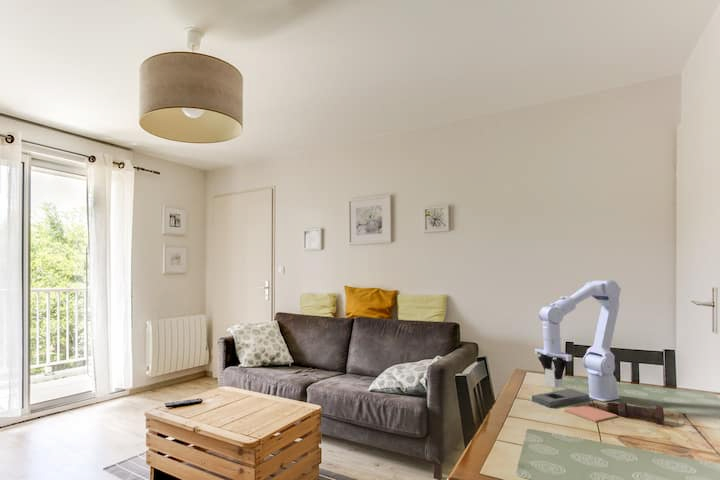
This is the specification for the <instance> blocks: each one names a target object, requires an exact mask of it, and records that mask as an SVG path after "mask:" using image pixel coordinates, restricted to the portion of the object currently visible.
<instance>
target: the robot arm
mask: <svg viewBox="0 0 720 480" xmlns="http://www.w3.org/2000/svg"><path fill="white" fill-rule="evenodd" d="M621 290H622V288H621V287H620V286H619V284H618V283H617V282H616V281H615V280H612V279H610V280H598V279H597V280H596V279H592V280H589V281H588V282H586V283H585V284H584V286H582V287H581V288H580V289H578V290H577V291H575V292H574V293H573V294H571V295H570V296H567V295H565V296H563V295H562V296H560V297H559V299H558V300H557V301H555V302H552V303H550V305H549V306H544V307H542V308H541V309H540V311H539V313H538V314H537V315H538V318H539V320H540V321H541V325H542V340H543V348H534V354H535V355H540V356H537V357H538V360H539V361H540V363H541V366H542V368H543V371H544V372H545V368H551V367H553V366H554V368H555V373H556V379H562V378H563V375H564V371H565V369H566V366H567V365H568V363H569V362H572V361H573V355H572V354H568V353H566V352H562V345H561V344H562V343H561V341H562V339H561V328H560V327H561V325H560V323H562V321H563V320H564V317H565V316H567V315H568V314H569V313H571V312H572V311H574V310H576V308H577V305H578V304H580V303H581V302H584V301H585V300H587V299H589V298H590V297H592V298H593V299H594V300H596V301H597V302H598V303H599V304H600V306H601V308H600V312H599V313H600V314H599V317H598V321H597V325H596V326H597V327H596V330H595V335H594V336H595V337H594V340H593V344H592V345H591V346H590V347H589V348H587V349H586V353H584V354H585V355H584V356H583V357H582V365H583V367H584V368H585V369H586V372H587V378H588V379H587V380H588V394H589V399H593V400H596V401H599V402H604V403H605V402H611V401H616V400H619V399H621V397H620V396H618V381H617V378H616V377H615V375H614V374H613V373H615V370H616V364H615V358H616V357H615V355H614V353H613V352H612V351H611V346H612V340H613V337H614V332H615V326H616V322H617V318H618V313H619V309H620V295H621Z"/></svg>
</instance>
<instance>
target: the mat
mask: <svg viewBox="0 0 720 480" xmlns="http://www.w3.org/2000/svg"><path fill="white" fill-rule="evenodd" d="M564 412H566V413H568V414H571V415H574V416H576V417H577V416H578V417H580V418H582V419H585V420H588V421H591V422H594V423H597V422H598V423H599V422H602V421H607V420H610V419H615V418H618V417H619V414H617V413H612V412H609V411H606V410H603V409H601V408H596V407H593V406H590V405H587V404H586V405H581V406H577V407H572V408H571V407H570V408H566V409H564Z"/></svg>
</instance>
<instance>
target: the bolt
mask: <svg viewBox="0 0 720 480" xmlns="http://www.w3.org/2000/svg"><path fill="white" fill-rule="evenodd" d="M606 410H607V412H609V413H613V414H617V415H618V416H620V417H623V418H627V417H628V416H630V417H638V418H644V419H649V420H651V421H652V420H653V421H656V424H657V425H664V424H665V413H664V408H663V406H662V405H660V404H656V405H655V408H654V407H653V408H652V407H645V406H637V405H631V404H628V403H627V402H626V401H623V400H622V401H618V402H612V401H609V402H606Z"/></svg>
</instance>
